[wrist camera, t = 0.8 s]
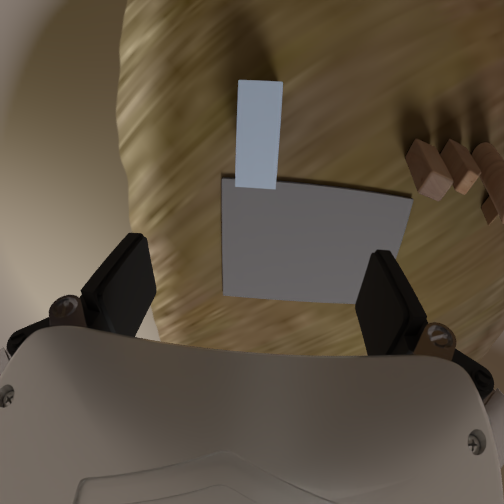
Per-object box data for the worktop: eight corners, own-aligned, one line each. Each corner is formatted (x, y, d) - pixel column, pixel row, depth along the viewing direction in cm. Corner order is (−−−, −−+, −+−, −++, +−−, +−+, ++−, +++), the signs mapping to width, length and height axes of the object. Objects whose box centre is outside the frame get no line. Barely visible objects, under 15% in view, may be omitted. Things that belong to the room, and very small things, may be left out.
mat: (222, 177, 29) (221, 178, 28) (411, 198, 28) (413, 199, 28) (223, 292, 37) (223, 295, 37) (377, 302, 36) (378, 304, 36)
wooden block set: (394, 161, 28) (413, 224, 23) (424, 102, 21) (462, 156, 15) (487, 204, 28) (510, 262, 22) (518, 164, 21) (552, 221, 15)
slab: (249, 86, 24) (238, 79, 16) (280, 87, 23) (283, 82, 16) (246, 160, 28) (235, 186, 20) (275, 162, 28) (275, 189, 20)
